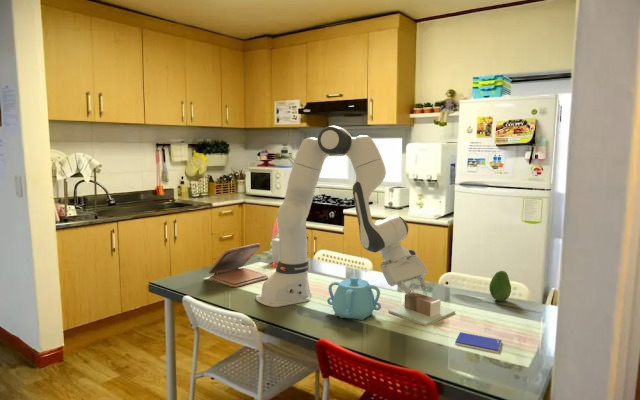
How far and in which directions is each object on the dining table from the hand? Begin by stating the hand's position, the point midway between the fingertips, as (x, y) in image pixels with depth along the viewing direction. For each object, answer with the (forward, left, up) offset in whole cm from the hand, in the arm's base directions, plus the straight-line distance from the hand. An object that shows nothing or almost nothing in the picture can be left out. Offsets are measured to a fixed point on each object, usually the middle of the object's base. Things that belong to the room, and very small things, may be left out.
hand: (417, 290), depth 163 cm
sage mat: (0, -2, -8) cm, 8 cm away
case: (-29, +77, -8) cm, 82 cm away
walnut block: (0, +4, -5) cm, 6 cm away
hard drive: (-8, -29, -9) cm, 31 cm away
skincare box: (+1, +88, -8) cm, 88 cm away
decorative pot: (-20, +13, -8) cm, 25 cm away
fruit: (+34, -14, -8) cm, 38 cm away
